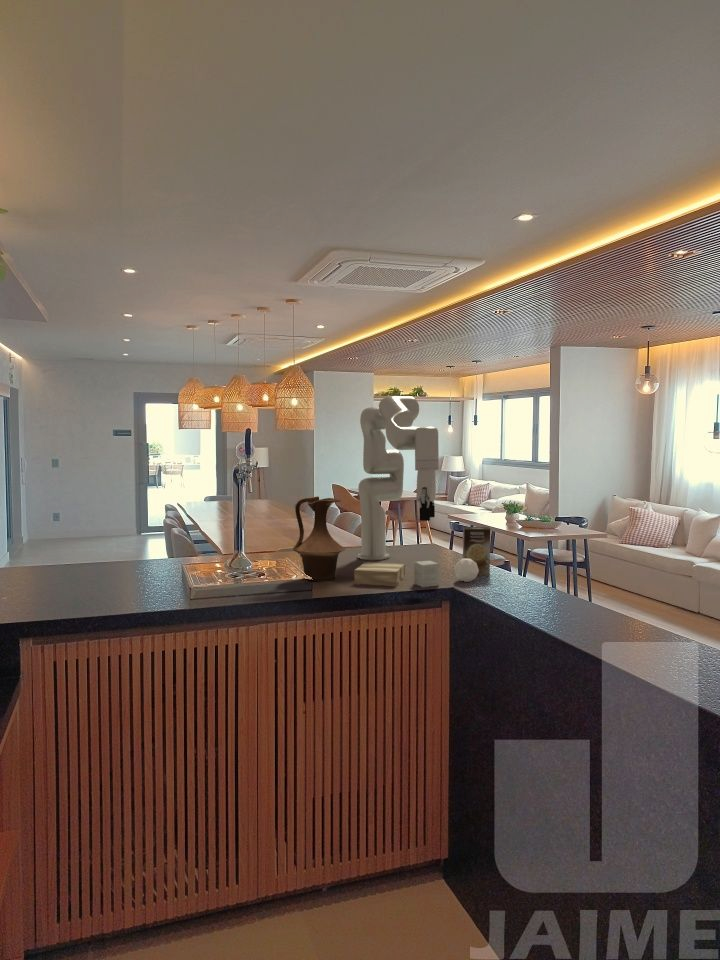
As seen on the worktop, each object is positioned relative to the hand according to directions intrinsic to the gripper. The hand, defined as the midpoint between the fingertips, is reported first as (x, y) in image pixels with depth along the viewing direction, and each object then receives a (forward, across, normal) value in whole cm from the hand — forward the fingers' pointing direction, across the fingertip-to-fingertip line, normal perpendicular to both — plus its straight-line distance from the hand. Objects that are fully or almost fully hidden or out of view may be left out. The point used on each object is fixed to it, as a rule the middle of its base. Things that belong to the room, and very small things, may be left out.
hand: (427, 518), depth 219 cm
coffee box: (+21, -21, +14) cm, 33 cm away
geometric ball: (+22, -8, +12) cm, 26 cm away
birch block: (+22, -3, -16) cm, 27 cm away
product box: (+22, 0, 0) cm, 22 cm away
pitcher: (+21, -2, -38) cm, 43 cm away
